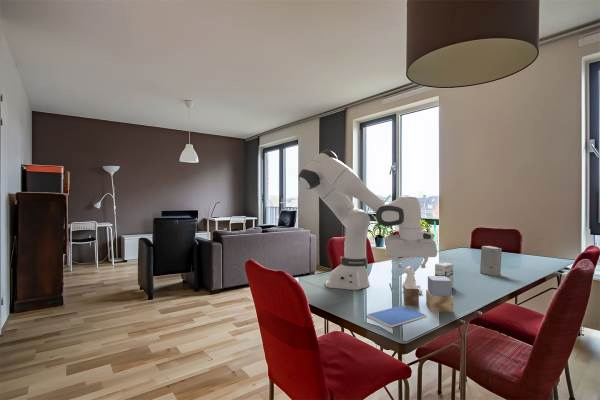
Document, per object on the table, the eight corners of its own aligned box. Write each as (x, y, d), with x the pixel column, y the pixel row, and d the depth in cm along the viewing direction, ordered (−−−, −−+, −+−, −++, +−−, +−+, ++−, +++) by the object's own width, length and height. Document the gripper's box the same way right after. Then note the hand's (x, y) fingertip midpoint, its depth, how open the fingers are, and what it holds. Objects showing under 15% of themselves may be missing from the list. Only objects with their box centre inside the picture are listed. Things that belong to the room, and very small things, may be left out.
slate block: (432, 295, 119) (432, 280, 119) (427, 290, 126) (427, 275, 126) (451, 296, 118) (451, 280, 118) (445, 291, 125) (445, 276, 125)
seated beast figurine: (423, 294, 139) (422, 268, 139) (403, 293, 141) (402, 267, 141) (419, 289, 148) (419, 264, 148) (401, 288, 150) (401, 263, 150)
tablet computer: (401, 307, 124) (401, 304, 124) (428, 318, 113) (428, 314, 113) (365, 317, 114) (365, 314, 114) (391, 329, 103) (391, 326, 103)
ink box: (444, 290, 146) (443, 265, 146) (434, 287, 150) (434, 263, 150) (453, 287, 150) (453, 263, 150) (444, 285, 155) (444, 261, 155)
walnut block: (406, 305, 125) (406, 288, 125) (403, 301, 130) (403, 285, 130) (418, 306, 125) (418, 288, 125) (416, 302, 130) (415, 285, 130)
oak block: (431, 311, 119) (431, 296, 119) (426, 304, 127) (426, 290, 127) (453, 312, 118) (453, 296, 118) (446, 305, 125) (446, 290, 125)
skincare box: (479, 273, 179) (479, 246, 179) (489, 272, 181) (488, 245, 181) (492, 276, 171) (492, 248, 171) (502, 275, 173) (502, 247, 173)
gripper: (385, 235, 126) (386, 269, 126) (437, 235, 123) (438, 269, 123) (383, 234, 132) (384, 265, 132) (433, 233, 129) (434, 266, 129)
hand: (411, 267), depth 127 cm, fingers open, 8 cm apart
